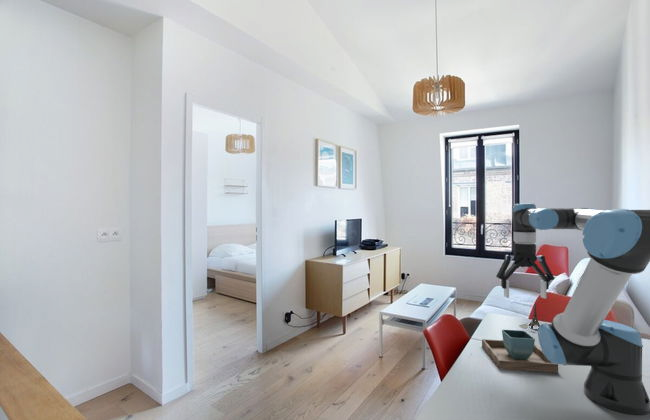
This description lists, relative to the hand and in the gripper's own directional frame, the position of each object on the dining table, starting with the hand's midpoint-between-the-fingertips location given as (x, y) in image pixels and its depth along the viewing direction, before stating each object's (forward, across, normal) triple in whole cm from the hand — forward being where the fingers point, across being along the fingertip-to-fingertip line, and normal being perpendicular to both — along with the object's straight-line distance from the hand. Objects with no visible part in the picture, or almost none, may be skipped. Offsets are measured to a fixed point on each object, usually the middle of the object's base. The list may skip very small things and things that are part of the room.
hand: (524, 297), depth 127 cm
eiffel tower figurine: (+24, -21, -36) cm, 48 cm away
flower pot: (+23, +3, 0) cm, 24 cm away
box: (+24, +3, 0) cm, 24 cm away
